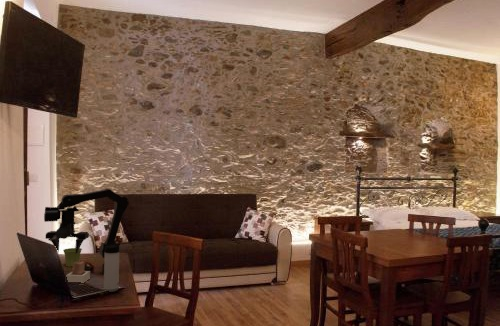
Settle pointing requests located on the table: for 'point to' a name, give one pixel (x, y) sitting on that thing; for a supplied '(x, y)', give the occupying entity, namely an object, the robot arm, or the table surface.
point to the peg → (78, 268)
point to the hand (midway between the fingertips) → (67, 253)
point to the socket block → (78, 277)
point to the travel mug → (111, 267)
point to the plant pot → (71, 256)
